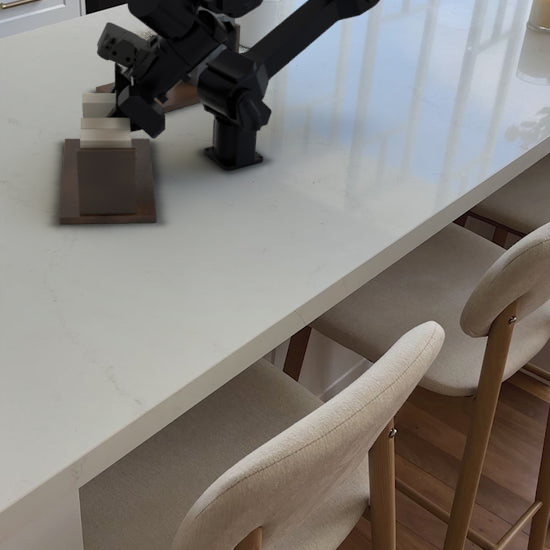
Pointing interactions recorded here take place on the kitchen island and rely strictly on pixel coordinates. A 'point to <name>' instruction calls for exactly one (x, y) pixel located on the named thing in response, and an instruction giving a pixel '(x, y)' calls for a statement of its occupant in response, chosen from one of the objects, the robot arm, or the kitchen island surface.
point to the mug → (258, 22)
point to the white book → (97, 104)
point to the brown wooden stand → (107, 175)
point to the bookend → (187, 91)
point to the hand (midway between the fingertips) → (95, 128)
